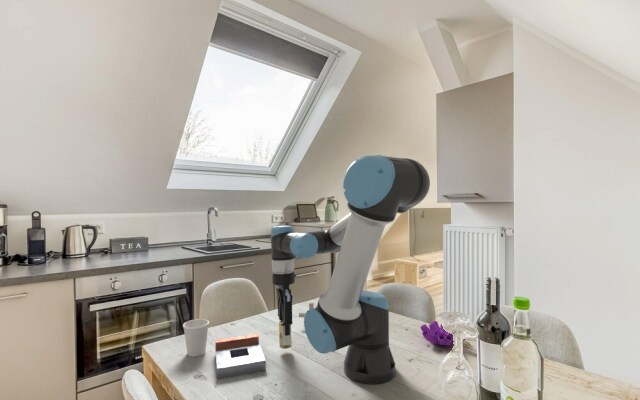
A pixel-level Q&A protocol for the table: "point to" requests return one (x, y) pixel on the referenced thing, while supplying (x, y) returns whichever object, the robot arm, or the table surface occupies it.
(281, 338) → the brass cylinder
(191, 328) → the dixie cup
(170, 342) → the table surface
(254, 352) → the jig
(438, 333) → the pipe connector assembly
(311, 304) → the pipe connector
